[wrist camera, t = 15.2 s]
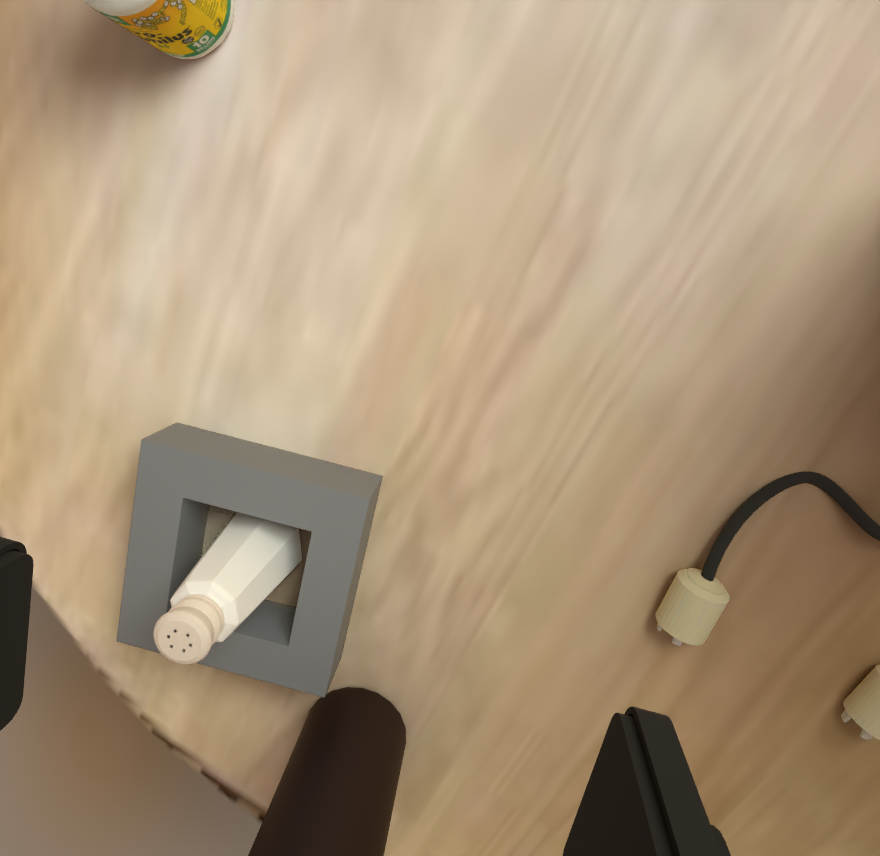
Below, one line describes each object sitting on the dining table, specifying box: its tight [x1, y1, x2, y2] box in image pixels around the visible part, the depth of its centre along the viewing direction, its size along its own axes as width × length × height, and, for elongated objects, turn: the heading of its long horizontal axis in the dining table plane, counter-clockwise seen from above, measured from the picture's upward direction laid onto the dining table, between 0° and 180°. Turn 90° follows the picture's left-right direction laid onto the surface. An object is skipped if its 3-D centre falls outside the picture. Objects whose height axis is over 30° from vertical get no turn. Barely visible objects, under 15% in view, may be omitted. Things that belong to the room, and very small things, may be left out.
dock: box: [117, 423, 383, 698], centre depth 39 cm, size 13×13×4 cm
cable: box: [655, 472, 880, 740], centre depth 37 cm, size 16×16×4 cm
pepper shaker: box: [153, 512, 302, 664], centre depth 35 cm, size 5×5×11 cm
